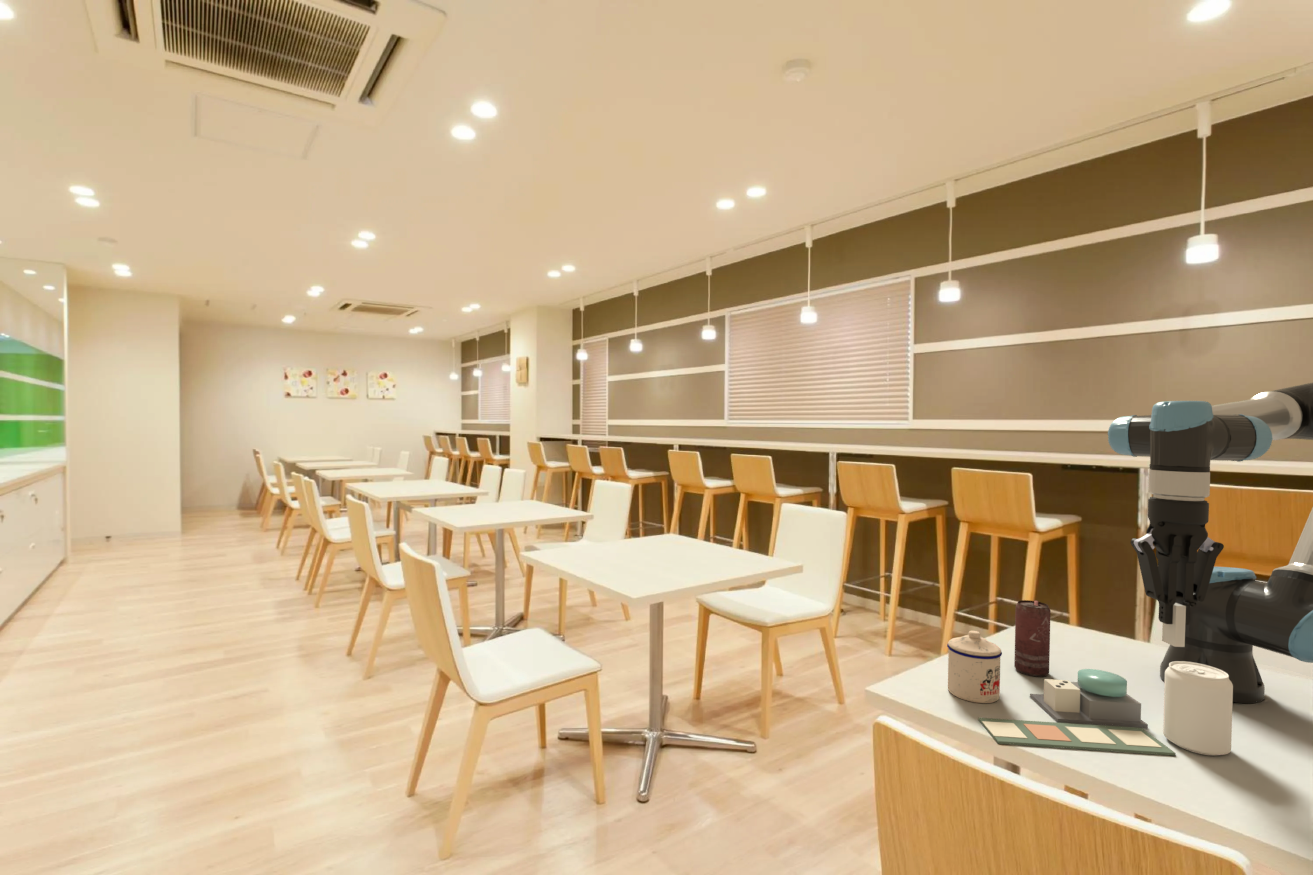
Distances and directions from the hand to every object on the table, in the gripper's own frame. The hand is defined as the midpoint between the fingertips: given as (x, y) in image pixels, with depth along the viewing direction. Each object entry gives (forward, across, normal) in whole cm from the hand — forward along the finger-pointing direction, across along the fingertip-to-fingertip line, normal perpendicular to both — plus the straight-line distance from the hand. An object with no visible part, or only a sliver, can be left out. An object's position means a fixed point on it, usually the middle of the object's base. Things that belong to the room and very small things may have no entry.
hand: (1173, 643), depth 101 cm
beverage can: (+15, -2, +2) cm, 16 cm away
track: (+15, +16, +1) cm, 22 cm away
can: (+15, +8, -26) cm, 32 cm away
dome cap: (+14, +6, -8) cm, 17 cm away
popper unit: (+15, +8, -8) cm, 19 cm away
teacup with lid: (+16, +24, -16) cm, 32 cm away
